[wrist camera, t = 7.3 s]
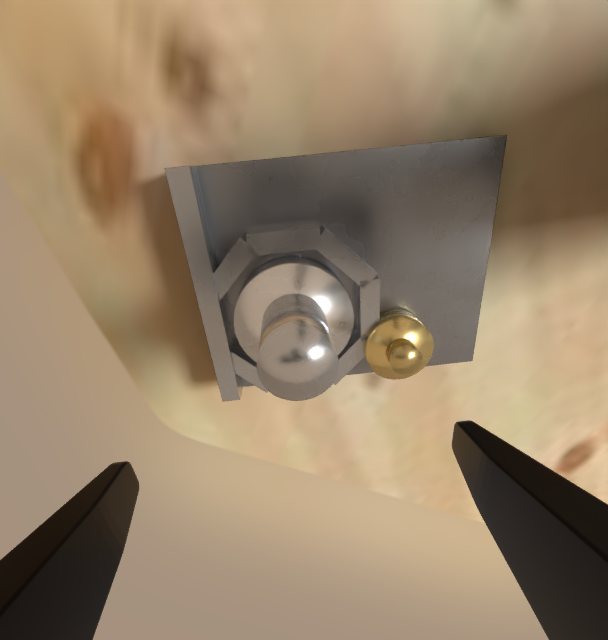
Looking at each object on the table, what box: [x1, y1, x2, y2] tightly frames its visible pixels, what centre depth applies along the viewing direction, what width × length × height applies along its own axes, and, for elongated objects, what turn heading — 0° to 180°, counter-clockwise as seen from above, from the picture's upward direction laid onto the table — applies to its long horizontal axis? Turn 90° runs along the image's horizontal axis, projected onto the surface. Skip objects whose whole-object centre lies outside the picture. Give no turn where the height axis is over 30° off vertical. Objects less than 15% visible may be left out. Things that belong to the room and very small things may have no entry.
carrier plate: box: [165, 135, 507, 401], centre depth 16 cm, size 15×12×4 cm
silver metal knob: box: [234, 257, 354, 401], centre depth 15 cm, size 6×6×6 cm
